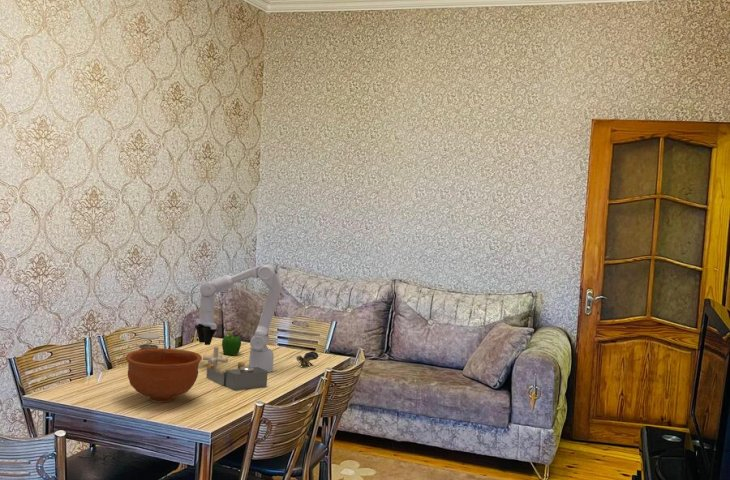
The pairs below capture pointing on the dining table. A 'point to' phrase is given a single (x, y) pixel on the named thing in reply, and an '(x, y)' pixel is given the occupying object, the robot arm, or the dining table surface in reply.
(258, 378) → the motor mount
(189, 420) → the dining table surface
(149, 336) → the french press
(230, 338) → the bell pepper
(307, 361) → the eagle figurine
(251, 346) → the robot arm
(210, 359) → the pipe connector
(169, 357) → the bowl
